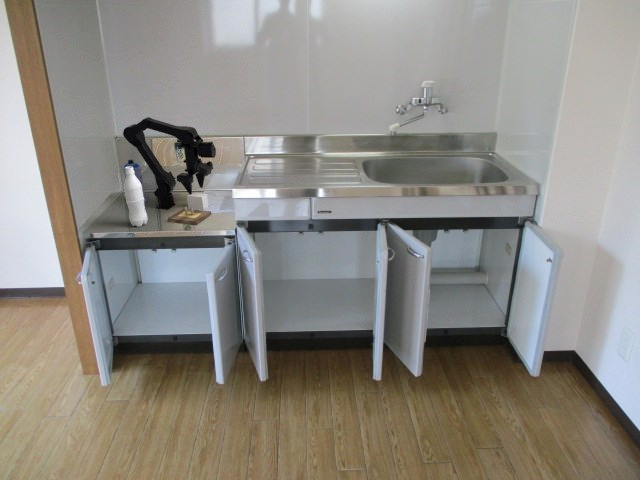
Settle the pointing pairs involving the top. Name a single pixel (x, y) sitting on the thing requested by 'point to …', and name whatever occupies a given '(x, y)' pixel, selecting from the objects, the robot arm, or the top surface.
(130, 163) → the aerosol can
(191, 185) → the robot arm
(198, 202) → the block
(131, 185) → the water bottle
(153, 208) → the top surface
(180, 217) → the board
